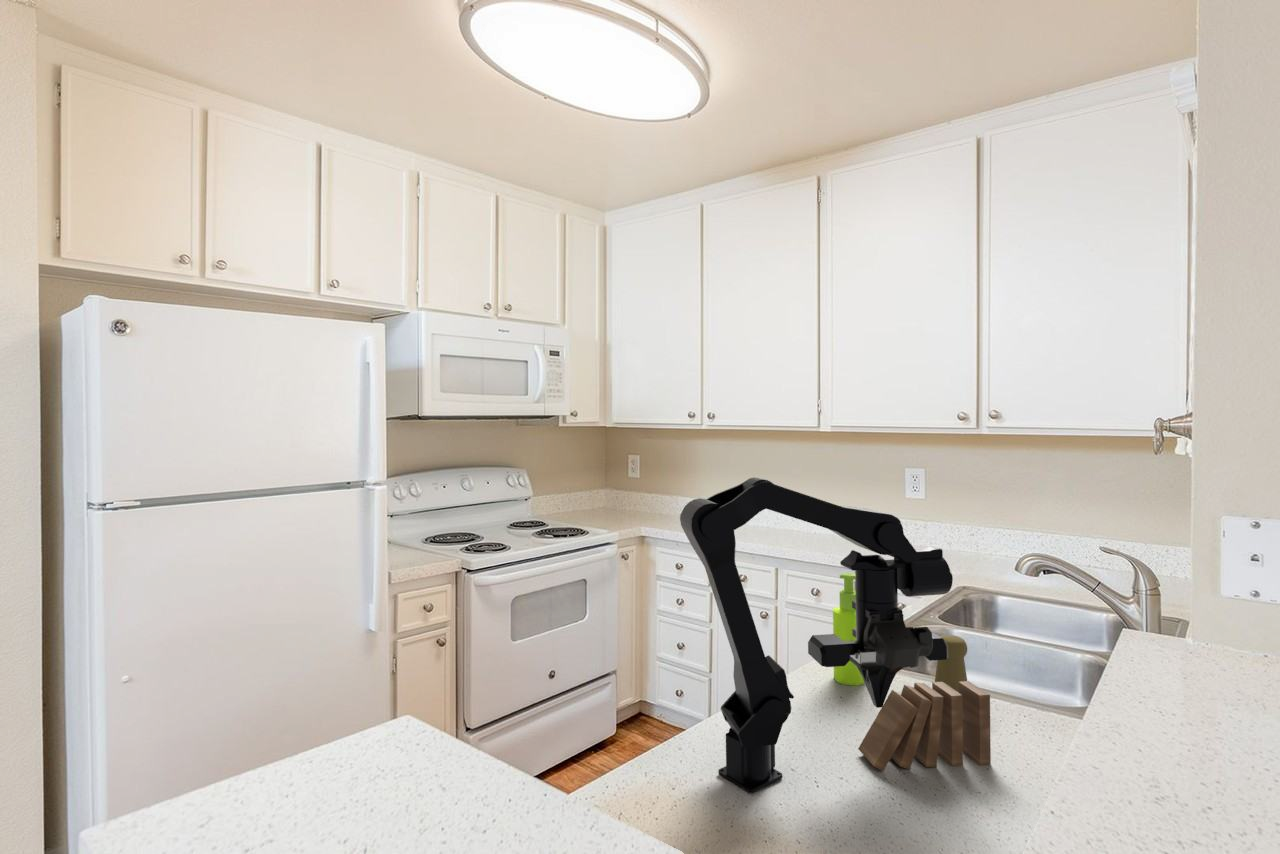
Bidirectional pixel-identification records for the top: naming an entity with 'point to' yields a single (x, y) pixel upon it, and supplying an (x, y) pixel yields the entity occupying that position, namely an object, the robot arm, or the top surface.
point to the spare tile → (976, 722)
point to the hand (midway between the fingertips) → (877, 706)
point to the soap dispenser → (846, 631)
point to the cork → (952, 663)
